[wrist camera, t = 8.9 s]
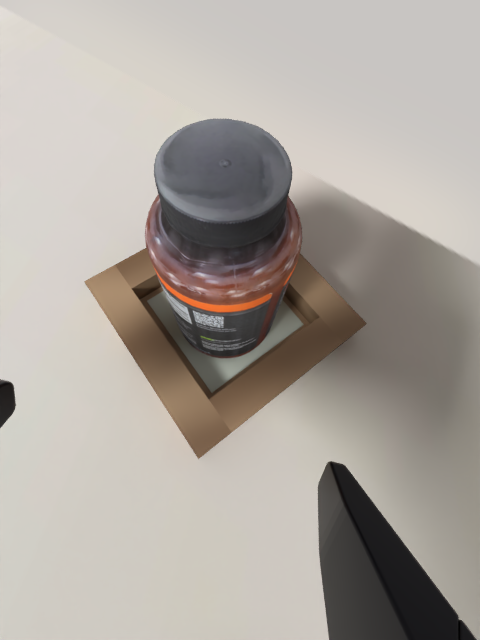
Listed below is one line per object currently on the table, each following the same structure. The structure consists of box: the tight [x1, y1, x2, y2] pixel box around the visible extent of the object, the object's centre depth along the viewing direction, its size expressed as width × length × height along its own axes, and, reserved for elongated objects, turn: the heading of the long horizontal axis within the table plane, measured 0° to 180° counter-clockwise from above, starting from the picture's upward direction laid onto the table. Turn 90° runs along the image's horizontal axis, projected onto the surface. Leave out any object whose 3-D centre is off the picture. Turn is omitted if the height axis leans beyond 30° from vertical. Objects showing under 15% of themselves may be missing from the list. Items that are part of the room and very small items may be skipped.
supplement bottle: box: [145, 119, 302, 358], centre depth 14 cm, size 6×6×11 cm
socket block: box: [84, 248, 366, 459], centre depth 18 cm, size 12×12×2 cm
